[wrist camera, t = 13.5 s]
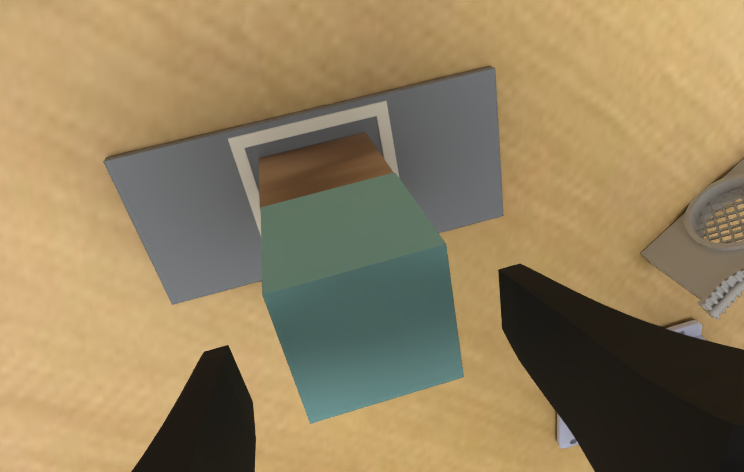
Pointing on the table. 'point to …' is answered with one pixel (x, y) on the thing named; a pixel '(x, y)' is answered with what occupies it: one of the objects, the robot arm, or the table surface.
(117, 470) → the table surface
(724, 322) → the table surface
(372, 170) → the walnut block
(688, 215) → the garden wall model
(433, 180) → the grey board with square
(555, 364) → the robot arm
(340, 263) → the teal block
